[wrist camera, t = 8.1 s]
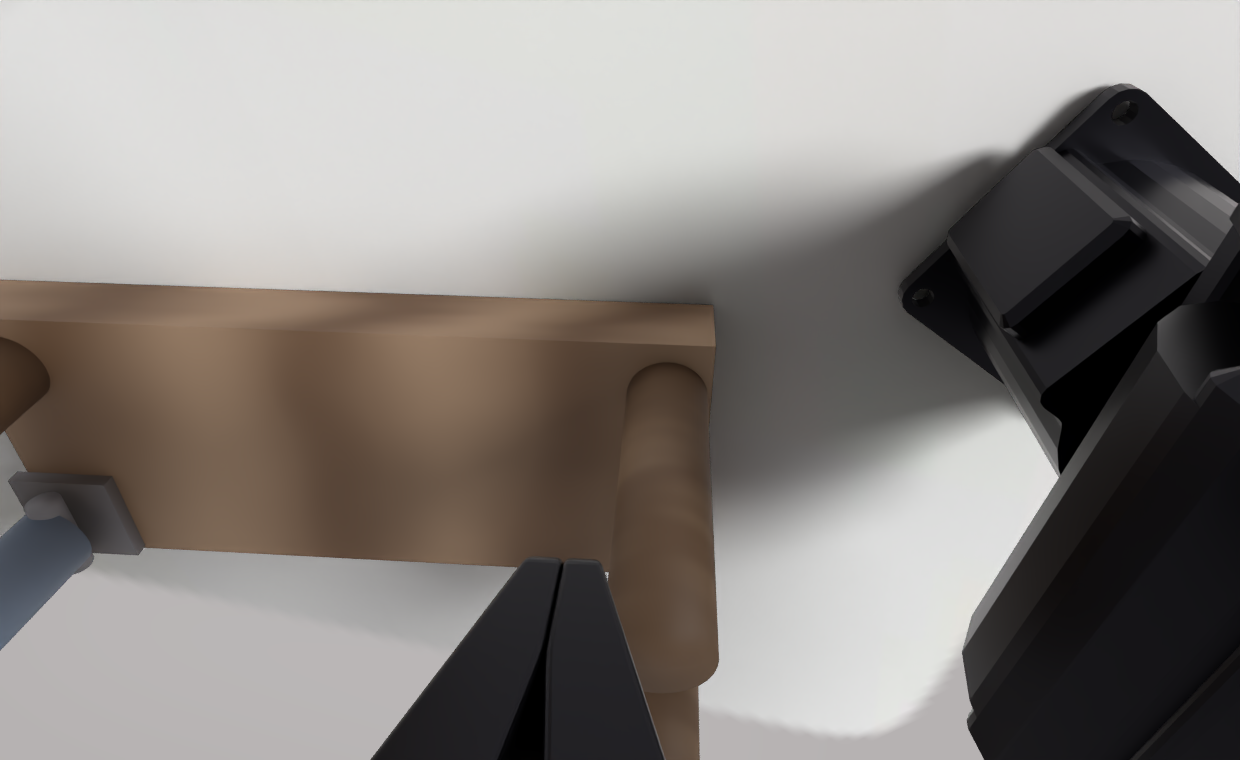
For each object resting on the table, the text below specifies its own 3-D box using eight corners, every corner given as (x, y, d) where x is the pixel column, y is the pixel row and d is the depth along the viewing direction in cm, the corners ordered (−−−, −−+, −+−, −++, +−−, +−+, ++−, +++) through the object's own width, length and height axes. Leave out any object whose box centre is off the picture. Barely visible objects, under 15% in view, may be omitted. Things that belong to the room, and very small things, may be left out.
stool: (712, 304, 20) (731, 603, 13) (695, 527, 25) (701, 848, 17) (-13, 279, 21) (-416, 540, 14) (97, 497, 26) (-157, 788, 18)
